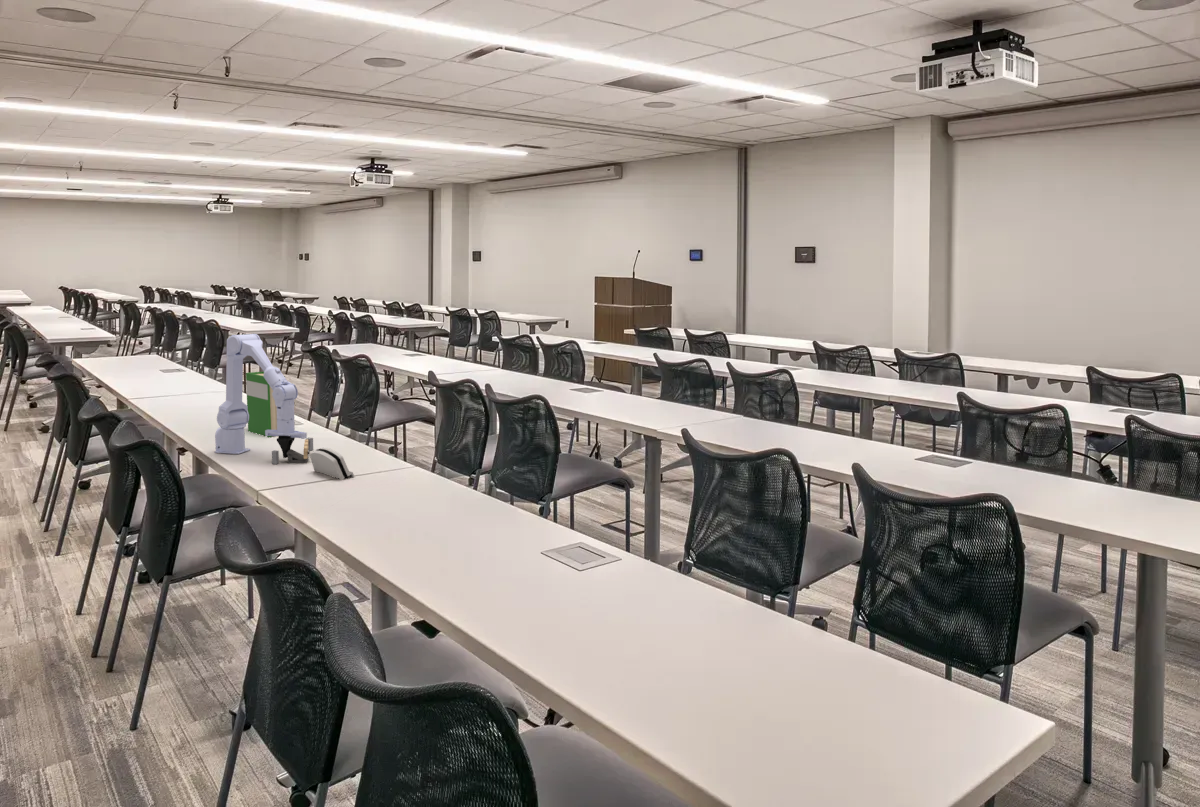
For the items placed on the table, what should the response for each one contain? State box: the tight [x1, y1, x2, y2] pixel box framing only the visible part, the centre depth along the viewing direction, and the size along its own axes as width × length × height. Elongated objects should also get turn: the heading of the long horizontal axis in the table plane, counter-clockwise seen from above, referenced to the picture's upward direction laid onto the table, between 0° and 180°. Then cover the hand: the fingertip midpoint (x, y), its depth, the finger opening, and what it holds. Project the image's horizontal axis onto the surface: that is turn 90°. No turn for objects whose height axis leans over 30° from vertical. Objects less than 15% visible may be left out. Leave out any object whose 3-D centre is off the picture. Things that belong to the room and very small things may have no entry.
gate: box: [303, 438, 311, 459], centre depth 305 cm, size 21×2×3 cm, turn 17°
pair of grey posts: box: [271, 437, 314, 465], centre depth 305 cm, size 2×25×4 cm, turn 170°
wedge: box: [287, 448, 309, 464], centre depth 298 cm, size 6×5×4 cm
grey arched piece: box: [309, 447, 355, 480], centre depth 280 cm, size 17×5×10 cm, turn 48°
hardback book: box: [245, 371, 286, 438], centre depth 344 cm, size 18×7×24 cm, turn 48°
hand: (286, 457), depth 298 cm, fingers closed, pressing on wedge
